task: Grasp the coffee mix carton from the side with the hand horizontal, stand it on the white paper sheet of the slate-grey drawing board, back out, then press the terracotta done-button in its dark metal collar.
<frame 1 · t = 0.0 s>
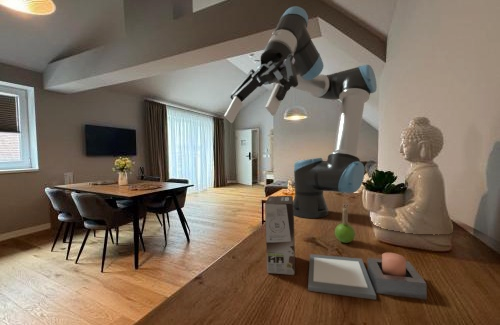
hand: (247, 115, 51), 36 cm above the table, tool tilted 35°, fingers open, 13 cm apart
drawing board: (337, 274, 49), on the table
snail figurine: (345, 243, 66), on the table
coffee box: (282, 265, 55), on the table
done button: (393, 265, 45), point 4 cm above the table, slide at 0.0 cm
button housing: (393, 283, 45), on the table
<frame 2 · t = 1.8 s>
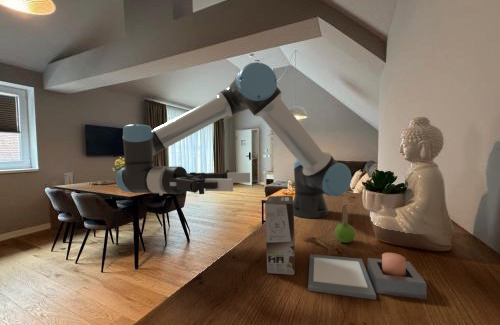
hand: (242, 180, 56), 20 cm above the table, tool horizontal, fingers open, 13 cm apart
nothing on the table moved.
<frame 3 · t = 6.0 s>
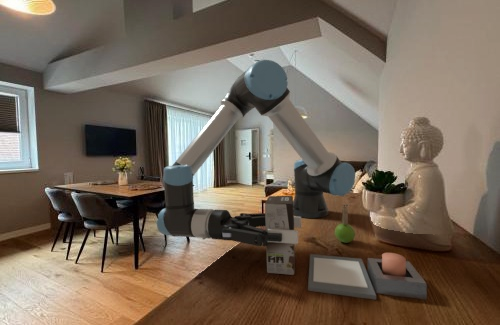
hand: (299, 229, 53), 9 cm above the table, tool horizontal, fingers closed on coffee box, 9 cm apart
coffee box: (282, 265, 55), on the table, touching gripper
everything else where it was.
when the fingers open (11 cm above the table, at t = 10.1 s): coffee box stays where it is, resting on drawing board.
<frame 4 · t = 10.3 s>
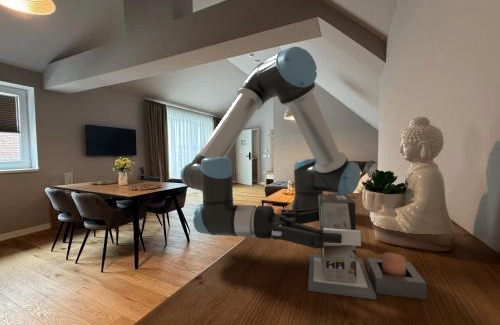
hand: (355, 226, 48), 11 cm above the table, tool horizontal, fingers open, 12 cm apart
coffee box: (337, 270, 49), point 1 cm above the table, touching drawing board
everything else where it was.
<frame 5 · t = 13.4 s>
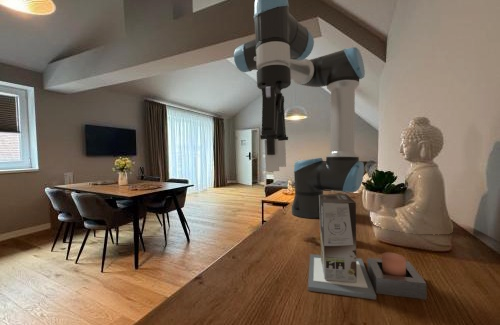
hand: (276, 168, 52), 24 cm above the table, tool pointing down, fingers open, 10 cm apart
nothing on the table moved.
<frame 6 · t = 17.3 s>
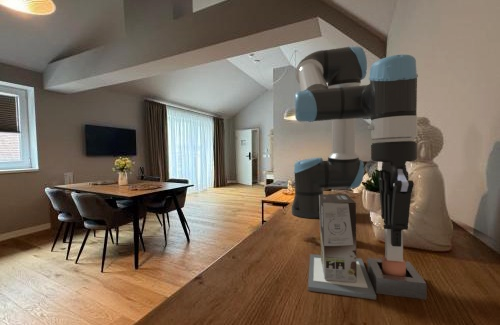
hand: (393, 259, 45), 5 cm above the table, tool pointing down, fingers closed
done button: (393, 268, 45), point 3 cm above the table, slide at 0.6 cm, touching gripper
everything else where it was.
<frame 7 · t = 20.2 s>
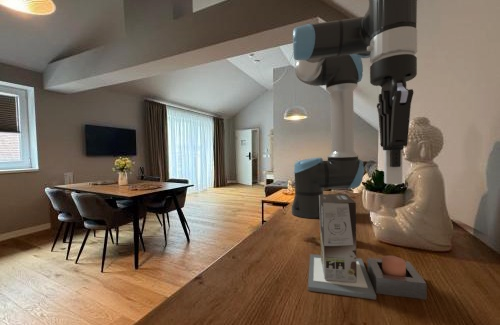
hand: (393, 183, 44), 20 cm above the table, tool pointing down, fingers closed
done button: (393, 268, 45), point 3 cm above the table, slide at 0.6 cm
everything else where it was.
at the end: coffee box inside the target area on the drawing board (0.1 cm from its centre), point 0.8 cm above the drawing board's base; coffee box tilted 0°; done button slide at 0.6 cm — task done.
